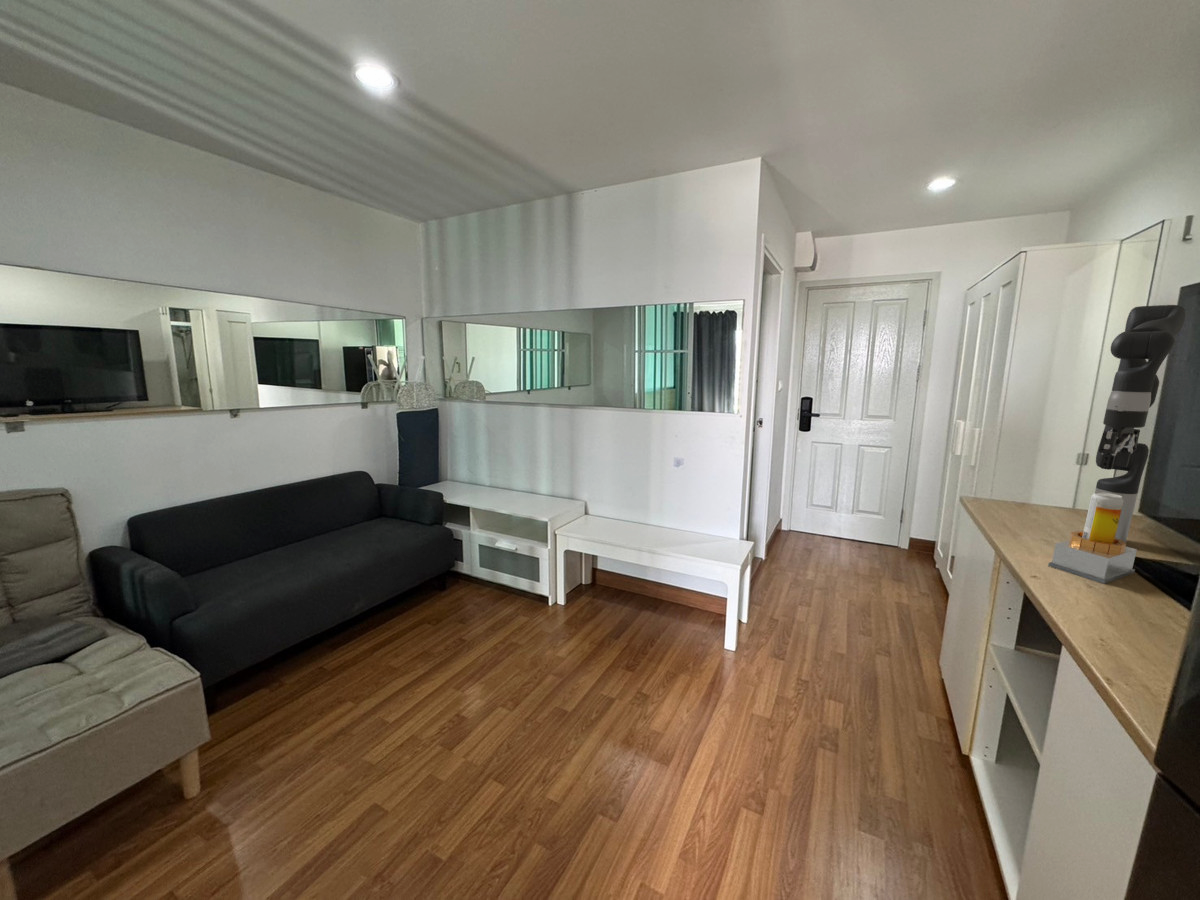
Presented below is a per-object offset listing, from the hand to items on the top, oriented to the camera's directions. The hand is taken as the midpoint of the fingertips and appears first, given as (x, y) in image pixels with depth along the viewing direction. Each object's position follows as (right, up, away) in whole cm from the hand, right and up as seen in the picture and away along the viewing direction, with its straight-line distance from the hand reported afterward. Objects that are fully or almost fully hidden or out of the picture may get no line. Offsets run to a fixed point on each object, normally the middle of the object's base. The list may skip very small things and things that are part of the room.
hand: (1113, 467), depth 126 cm
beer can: (0, -23, +4) cm, 23 cm away
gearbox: (+1, -29, +6) cm, 30 cm away
